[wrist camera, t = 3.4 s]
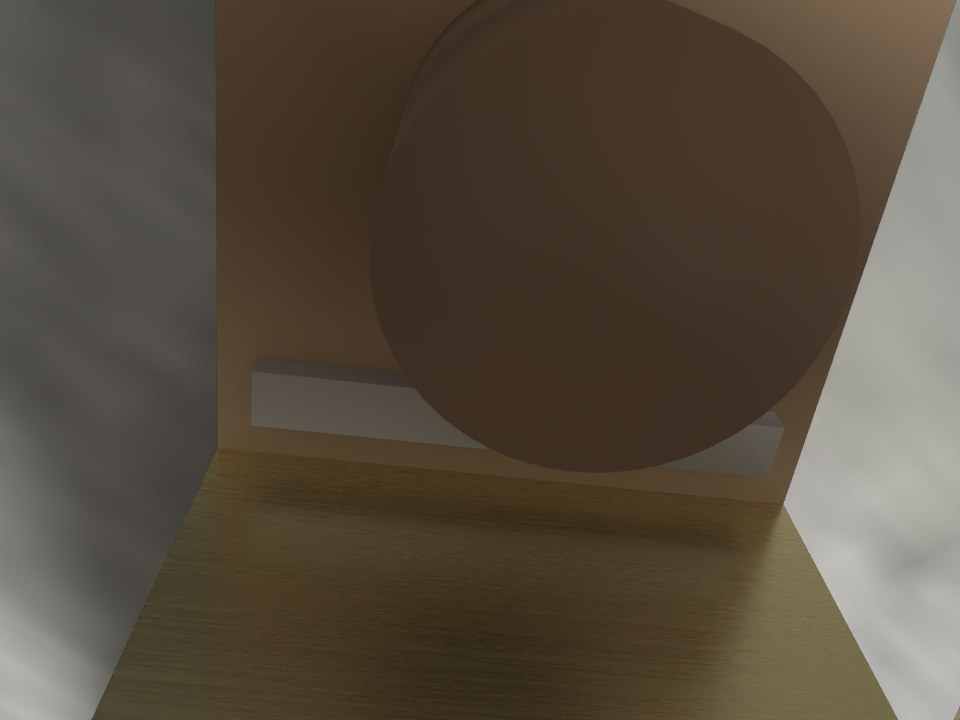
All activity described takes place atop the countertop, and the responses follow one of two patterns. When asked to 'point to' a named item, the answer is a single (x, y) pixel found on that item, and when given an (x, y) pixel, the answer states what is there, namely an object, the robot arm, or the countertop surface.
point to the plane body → (552, 228)
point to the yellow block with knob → (481, 604)
